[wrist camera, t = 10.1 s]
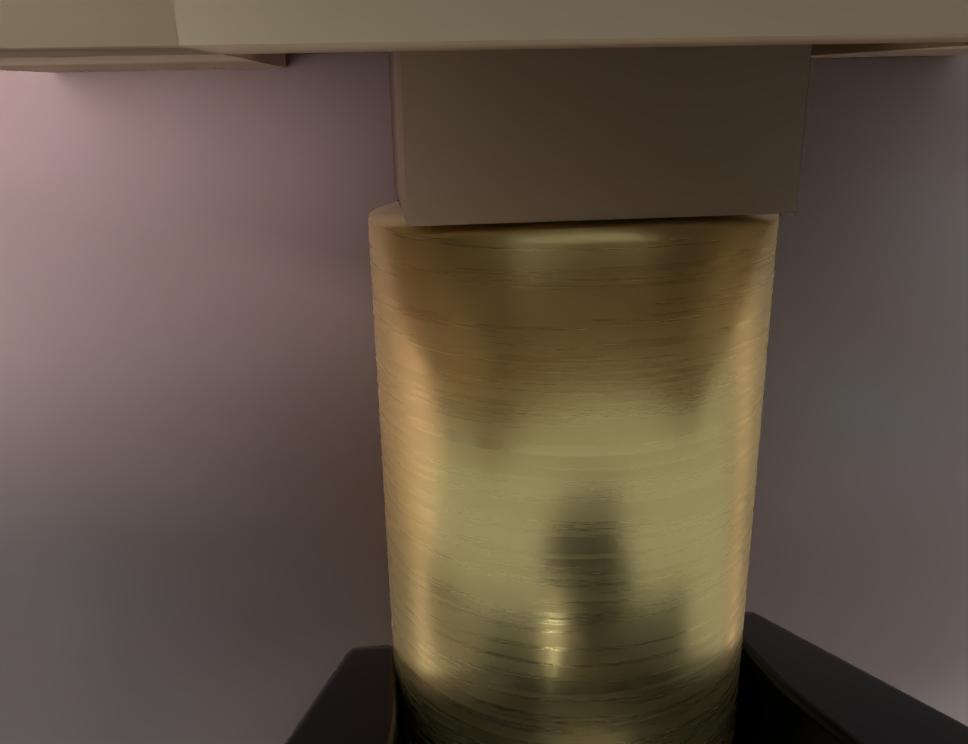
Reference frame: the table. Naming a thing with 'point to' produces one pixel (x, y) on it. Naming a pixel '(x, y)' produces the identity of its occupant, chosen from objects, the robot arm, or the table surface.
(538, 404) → the axle
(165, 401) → the table surface
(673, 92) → the block
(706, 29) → the bearing block
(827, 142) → the table surface
